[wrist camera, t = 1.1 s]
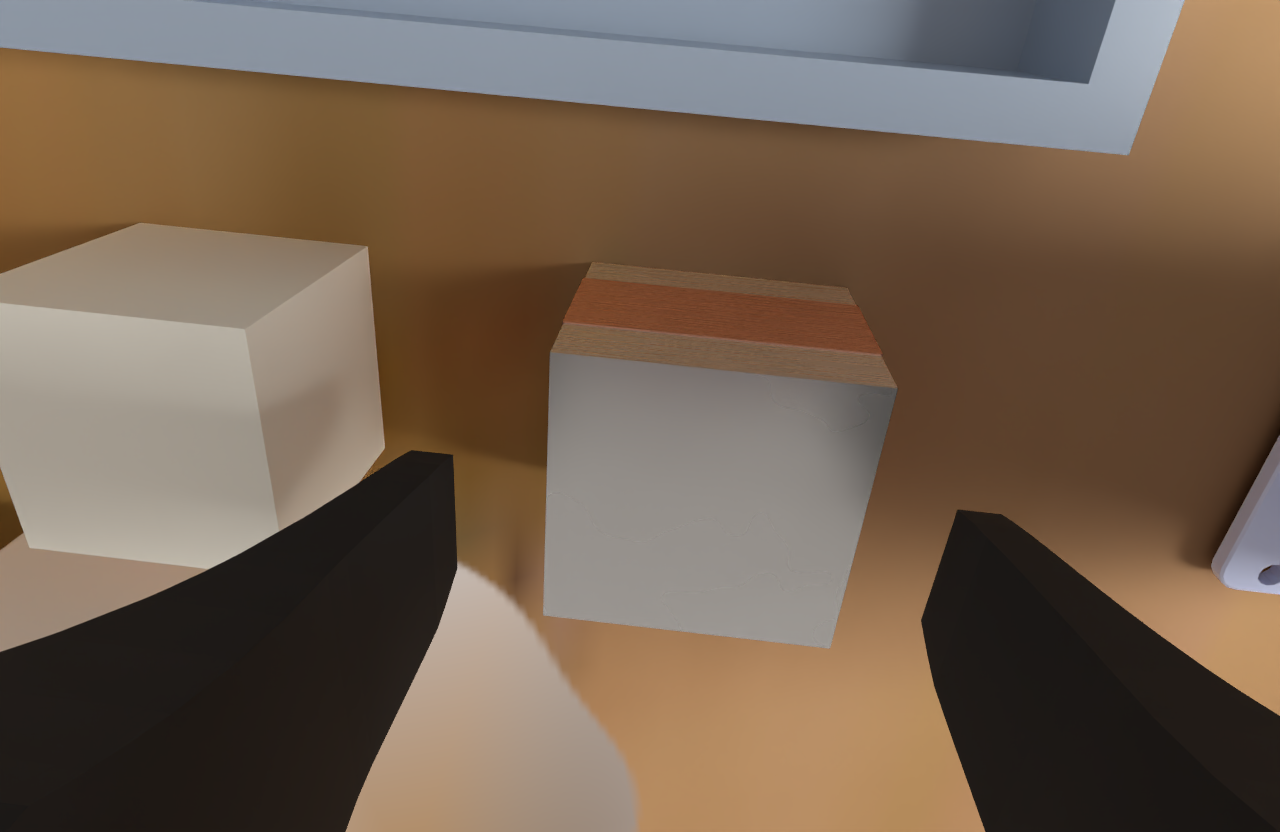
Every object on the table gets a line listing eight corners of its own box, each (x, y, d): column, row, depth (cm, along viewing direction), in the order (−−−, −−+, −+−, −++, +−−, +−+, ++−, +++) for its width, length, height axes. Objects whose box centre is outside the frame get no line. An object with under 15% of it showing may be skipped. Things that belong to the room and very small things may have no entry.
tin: (847, 284, 14) (899, 387, 11) (801, 498, 17) (830, 649, 13) (592, 259, 15) (548, 350, 11) (581, 474, 17) (541, 616, 13)
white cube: (369, 245, 15) (245, 329, 11) (386, 446, 17) (287, 577, 13) (143, 222, 15) (-62, 296, 11) (187, 424, 17) (29, 547, 13)
